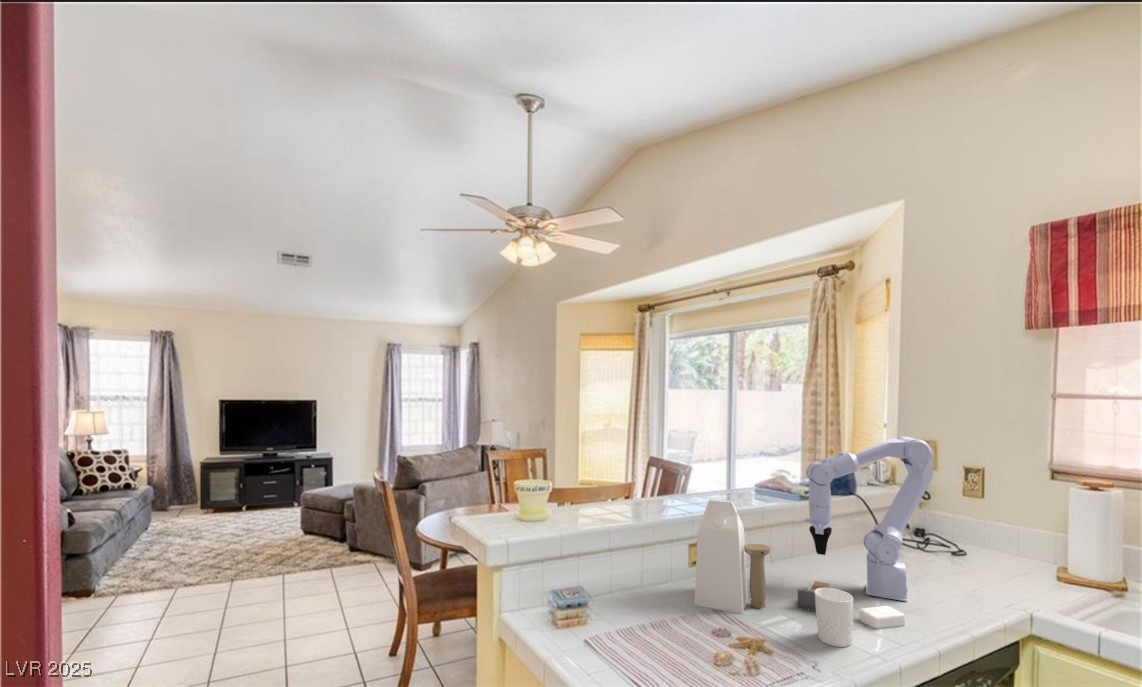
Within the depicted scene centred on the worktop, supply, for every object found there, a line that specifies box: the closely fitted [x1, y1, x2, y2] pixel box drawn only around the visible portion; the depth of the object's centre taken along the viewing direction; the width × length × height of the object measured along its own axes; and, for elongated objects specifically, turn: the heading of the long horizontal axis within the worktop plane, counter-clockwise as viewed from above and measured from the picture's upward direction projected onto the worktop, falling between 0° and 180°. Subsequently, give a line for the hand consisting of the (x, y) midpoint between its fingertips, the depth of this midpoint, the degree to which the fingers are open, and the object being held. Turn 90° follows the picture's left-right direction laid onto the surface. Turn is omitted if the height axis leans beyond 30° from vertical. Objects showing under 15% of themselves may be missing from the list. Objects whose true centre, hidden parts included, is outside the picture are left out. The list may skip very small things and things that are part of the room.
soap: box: [858, 605, 906, 630], centre depth 128 cm, size 9×6×3 cm, turn 104°
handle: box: [744, 543, 771, 609], centre depth 136 cm, size 5×6×15 cm
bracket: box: [797, 587, 816, 612], centre depth 136 cm, size 6×10×4 cm
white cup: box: [815, 587, 854, 648], centre depth 119 cm, size 8×8×10 cm
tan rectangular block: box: [810, 580, 830, 592], centre depth 139 cm, size 10×4×4 cm, turn 148°
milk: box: [694, 498, 749, 615], centre depth 140 cm, size 12×12×26 cm
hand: (821, 553), depth 149 cm, fingers closed
